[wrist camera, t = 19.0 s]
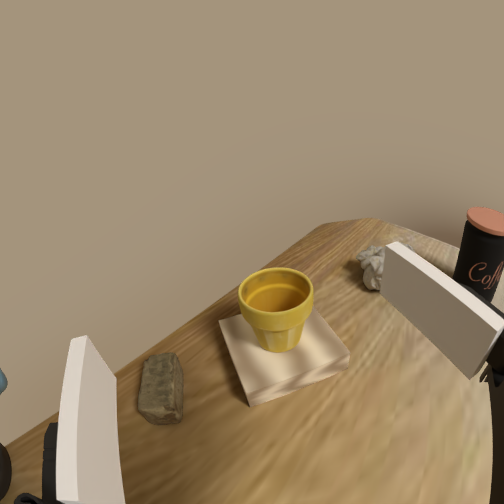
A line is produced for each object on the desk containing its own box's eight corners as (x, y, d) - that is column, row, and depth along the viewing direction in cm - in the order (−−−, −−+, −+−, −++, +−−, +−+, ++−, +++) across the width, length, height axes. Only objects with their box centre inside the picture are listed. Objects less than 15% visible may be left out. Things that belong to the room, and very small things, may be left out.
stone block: (184, 367, 46) (176, 348, 43) (185, 425, 36) (174, 410, 34) (153, 371, 46) (142, 353, 43) (149, 428, 36) (135, 412, 33)
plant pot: (318, 318, 46) (319, 269, 42) (305, 367, 38) (304, 318, 33) (259, 311, 50) (252, 263, 45) (237, 355, 42) (224, 307, 37)
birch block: (250, 407, 38) (246, 393, 36) (223, 336, 51) (218, 320, 49) (347, 368, 41) (350, 352, 39) (303, 309, 55) (303, 293, 53)
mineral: (377, 246, 66) (366, 218, 60) (439, 269, 53) (437, 240, 46) (350, 287, 64) (335, 263, 58) (413, 318, 51) (408, 294, 44)
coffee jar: (455, 313, 45) (479, 229, 36) (444, 280, 54) (459, 204, 45) (496, 312, 42) (523, 233, 33) (482, 281, 51) (500, 208, 42)
